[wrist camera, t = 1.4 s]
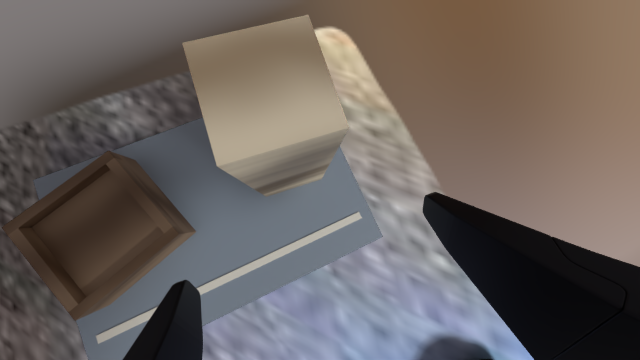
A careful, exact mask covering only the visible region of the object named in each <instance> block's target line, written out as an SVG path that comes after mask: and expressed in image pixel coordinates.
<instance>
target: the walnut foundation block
mask: <svg viewBox="0 0 640 360" xmlns="http://www.w3.org/2000/svg"><path fill="white" fill-rule="evenodd" d="M2 229H3V230H4V231H5V232H6V234H7V235H8V236H9V238H10V239H11V240H12V241H13V243H14V244H15V245H16V246H17V248H18V249H19V250H20V252H21V253H22V254H23V255H24V257H25V258H26V259H27V261H28V262H29V263H30V264H31V266H32V267H33V268H34V269H35V271H36V272H37V273H38V275H39V276H40V277H41V278H42V280H43V281H44V282H45V283H46V285H47V286H48V287H49V289H50V290H51V291H52V292H53V294H54V295H55V296H56V297H57V299H58V300H59V301H60V303H61V304H62V305H63V306H64V308H65V309H66V310H67V311H68V313H69V314H70V315H71V317H72V318H73V319H74V320H75V321H76V320H78V319H80V318H82V317H84V316H87V315H89V314H91V313H93V312H95V311H98V310H100V309H102V308H104V307H106V306H109V305H110V304H112V303H113V302H114V301H115V300H116V299H117V298H119V297H120V296H121V295H122V294H123V293H125V292H126V291H127V290H128V289H129V288H130V287H132V286H133V285H134V284H135V283H136V282H138V281H139V280H140V279H141V278H142V277H143V276H145V275H146V274H147V273H148V272H149V271H151V270H152V269H153V268H154V267H155V266H156V265H158V264H159V263H160V262H161V261H162V260H164V259H165V258H166V257H167V256H168V255H169V254H171V253H172V252H173V251H174V250H175V249H177V248H178V247H179V246H180V245H181V244H183V243H184V242H185V241H186V240H187V239H188V238H190V237H191V236H192V235H193V234H194V233H196V231H195V229H194V228H193V227H192V226H191V225H190V224H189V222H188V221H187V220H186V219H185V218H184V217H183V215H182V214H181V213H180V212H179V211H178V209H177V208H176V207H175V206H174V205H173V204H172V202H171V201H170V200H169V199H168V198H167V197H166V195H165V194H164V193H163V192H162V191H161V190H160V188H159V187H158V186H157V185H156V184H155V183H154V181H153V180H152V179H151V178H150V177H149V176H148V174H147V173H146V172H145V171H144V170H143V169H142V167H141V166H140V165H139V164H138V163H137V161H136V160H134V159H131V158H128V157H125V156H122V155H119V154H117V153H114V152H111V151H107V152H106V153H104V154H103V155H101V156H100V157H99V158H97V159H96V160H95V161H93V162H92V163H90V164H89V165H88V166H86V167H85V168H83V169H82V170H81V171H79V172H78V173H76V174H75V175H74V176H72V177H71V178H70V179H68V180H67V181H65V182H64V183H63V184H61V185H60V186H58V187H57V188H56V189H54V190H53V191H52V192H50V193H49V194H47V195H46V196H45V197H43V198H42V199H40V200H39V201H38V202H36V203H35V204H33V205H32V206H31V207H29V208H28V209H27V210H25V211H24V212H22V213H21V214H20V215H18V216H17V217H15V218H14V219H13V220H11V221H10V222H8V223H7V224H6V225H4V226H3V227H2Z"/></svg>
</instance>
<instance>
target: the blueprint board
mask: <svg viewBox="0 0 640 360" xmlns="http://www.w3.org/2000/svg"><path fill="white" fill-rule="evenodd" d="M111 152H114V153H117V154H119V155H122V156H125V157H128V158H131V159H134V160H136V161H137V163H138V164H139V165H140V166H141V167H142V169H143V170H144V171H145V172H146V173H147V174H148V176H149V177H150V178H151V179H152V180H153V181H154V183H155V184H156V185H157V186H158V187H159V188H160V190H161V191H162V192H163V193H164V194H165V195H166V197H167V198H168V199H169V200H170V201H171V202H172V204H173V205H174V206H175V207H176V208H177V209H178V211H179V212H180V213H181V214H182V215H183V217H184V218H185V219H186V220H187V221H188V222H189V224H190V225H191V226H192V227H193V228H194V229H195V231H196V233H194V234H193V235H192V236H191V237H190V238H188V239H187V240H186V241H185V242H184V243H183V244H181V245H180V246H179V247H178V248H177V249H175V250H174V251H173V252H172V253H171V254H169V255H168V256H167V257H166V258H165V259H164V260H162V261H161V262H160V263H159V264H158V265H156V266H155V267H154V268H153V269H152V270H151V271H149V272H148V273H147V274H146V275H145V276H143V277H142V278H141V279H140V280H139V281H138V282H136V283H135V284H134V285H133V286H132V287H130V288H129V289H128V290H127V291H126V292H125V293H123V294H122V295H121V296H120V297H119V298H117V299H116V300H115V301H114V302H113V303H112V304H110V305H109V306H106V307H104V308H102V309H100V310H98V311H95V312H93V313H91V314H89V315H87V316H84V317H82V318H80V319H78V320H76V321H77V325H78V328H79V331H80V334H81V338H82V341H83V344H84V348H85V351H86V354H87V357H88V360H123V358H124V357H125V355H126V354H127V352H128V351H129V349H130V348H131V346H132V345H133V343H134V342H135V340H136V339H137V337H138V336H139V334H140V333H141V331H142V330H143V328H144V327H145V325H146V324H147V322H148V321H149V319H150V318H151V316H152V315H153V313H154V312H155V310H156V309H157V307H158V306H159V304H160V303H161V301H162V300H163V298H164V297H165V295H166V294H167V292H168V291H169V289H170V288H171V286H172V285H173V284H175V283H177V282H180V281H183V280H188V281H190V282H191V283H192V285H193V286H194V287H195V288H196V289H197V290H198V291H199V292H200V296H201V313H202V326H204V325H206V324H208V323H210V322H212V321H214V320H216V319H218V318H220V317H222V316H224V315H226V314H228V313H230V312H232V311H234V310H236V309H238V308H240V307H242V306H244V305H246V304H248V303H250V302H252V301H254V300H256V299H258V298H260V297H262V296H264V295H267V294H269V293H271V292H273V291H275V290H277V289H279V288H281V287H283V286H285V285H287V284H289V283H291V282H293V281H295V280H297V279H299V278H301V277H303V276H305V275H307V274H309V273H311V272H313V271H315V270H317V269H319V268H321V267H323V266H325V265H327V264H329V263H331V262H333V261H335V260H337V259H339V258H341V257H343V256H345V255H347V254H349V253H351V252H353V251H355V250H357V249H359V248H361V247H363V246H365V245H367V244H369V243H371V242H373V241H375V240H377V239H379V238H381V237H383V236H382V234H381V232H380V229H379V227H378V225H377V223H376V221H375V219H374V217H373V215H372V213H371V211H370V209H369V206H368V204H367V202H366V200H365V198H364V196H363V194H362V192H361V190H360V188H359V185H358V183H357V181H356V179H355V177H354V175H353V173H352V171H351V169H350V167H349V165H348V162H347V160H346V158H345V156H344V154H343V152H342V150H341V148H340V146H339V148H338V150H337V151H336V153H335V155H334V157H333V159H332V161H331V163H330V164H329V166H328V168H327V170H326V172H325V174H324V176H323V177H322V179H320V180H317V181H314V182H311V183H308V184H305V185H302V186H298V187H295V188H292V189H289V190H286V191H283V192H280V193H277V194H273V195H270V196H267V197H266V196H264V195H263V194H261V193H259V192H258V191H256V190H254V189H253V188H251V187H250V186H248V185H246V184H245V183H243V182H241V181H240V180H238V179H237V178H235V177H233V176H232V175H230V174H228V173H227V172H225V171H224V170H222V169H220V168H219V167H217V165H216V161H215V158H214V154H213V151H212V147H211V143H210V140H209V136H208V133H207V129H206V126H205V122H204V119H203V117H202V118H200V119H197V120H194V121H191V122H189V123H186V124H183V125H181V126H178V127H175V128H173V129H170V130H167V131H164V132H162V133H159V134H156V135H154V136H151V137H148V138H146V139H143V140H140V141H137V142H135V143H132V144H129V145H127V146H124V147H121V148H119V149H116V150H113V151H111ZM102 155H103V154H102ZM100 156H101V155H100ZM100 156H97V157H94V158H92V159H89V160H86V161H83V162H81V163H78V164H75V165H73V166H70V167H67V168H65V169H62V170H59V171H56V172H54V173H51V174H48V175H46V176H43V177H40V178H38V179H35V180H33V181H34V185H35V188H36V191H37V194H38V198H39V200H40V199H42V198H43V197H45V196H46V195H47V194H49V193H50V192H52V191H53V190H54V189H56V188H57V187H58V186H60V185H61V184H63V183H64V182H65V181H67V180H68V179H70V178H71V177H72V176H74V175H75V174H76V173H78V172H79V171H81V170H82V169H83V168H85V167H86V166H88V165H89V164H90V163H92V162H93V161H95V160H96V159H97V158H99V157H100Z"/></svg>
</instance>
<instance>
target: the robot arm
mask: <svg viewBox="0 0 640 360" xmlns="http://www.w3.org/2000/svg"><path fill="white" fill-rule="evenodd" d="M423 214H424V216H425V218H426V219H427V221H428V222H429V224H430V225H431V227H432V228H433V230H434V231H435V233H436V235H437V236H438V238H439V239H440V241H441V242H442V244H443V245H444V247H445V248H446V250H447V251H448V252H449V254H450V255H451V256H452V257H453V259H454V260H455V261H456V262H457V264H458V265H459V266H460V267H461V269H462V270H463V271H464V272H465V274H466V275H467V276H468V277H469V279H470V280H471V281H472V282H473V284H474V285H475V286H476V287H477V288H478V290H479V291H480V292H481V293H482V295H483V296H484V297H485V298H486V300H487V301H488V302H489V303H490V305H491V306H492V307H493V308H494V310H495V311H496V312H497V313H498V315H499V316H500V317H501V318H502V320H503V321H504V322H505V323H506V325H507V326H508V327H509V328H510V330H511V331H512V332H513V333H514V335H515V336H516V337H517V338H518V340H519V341H520V342H521V343H522V345H523V346H524V347H525V348H526V350H527V351H528V352H529V353H530V355H531V356H532V357H533V358H534V360H640V267H638V266H635V265H632V264H629V263H626V262H622V261H619V260H616V259H613V258H610V257H607V256H605V255H602V254H599V253H595V252H593V251H590V250H587V249H584V248H581V247H579V246H576V245H574V244H571V243H568V242H565V241H563V240H560V239H558V238H555V237H551V236H549V235H547V234H544V233H542V232H539V231H536V230H534V229H531V228H529V227H526V226H523V225H521V224H518V223H516V222H513V221H510V220H508V219H505V218H502V217H500V216H497V215H495V214H492V213H489V212H487V211H484V210H482V209H479V208H476V207H474V206H471V205H468V204H466V203H463V202H461V201H458V200H456V199H453V198H450V197H448V196H445V195H442V194H440V193H437V192H433V193H430V194H428V195H426V196H425V197H424V204H423ZM202 353H203V331H202V313H201V296H200V292H199V291H198V290H197V289H196V288H195V287H194V286H193V285H192V283H191V282H190V281H188V280H183V281H180V282H177V283H175V284H173V285H172V286H171V288H170V289H169V291H168V292H167V294H166V295H165V297H164V298H163V300H162V301H161V303H160V304H159V306H158V307H157V309H156V310H155V312H154V313H153V315H152V316H151V318H150V319H149V321H148V322H147V324H146V325H145V327H144V328H143V330H142V331H141V333H140V334H139V336H138V337H137V339H136V340H135V342H134V343H133V345H132V346H131V348H130V349H129V351H128V352H127V354H126V355H125V357H124V358H123V360H202Z"/></svg>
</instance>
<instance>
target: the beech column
mask: <svg viewBox="0 0 640 360" xmlns="http://www.w3.org/2000/svg"><path fill="white" fill-rule="evenodd" d="M182 44H183V47H184V51H185V54H186V58H187V62H188V65H189V69H190V72H191V76H192V79H193V83H194V87H195V90H196V94H197V97H198V101H199V104H200V108H201V111H202V115H203V119H204V122H205V126H206V129H207V133H208V136H209V140H210V143H211V147H212V151H213V154H214V158H215V161H216V165H217V167H219V168H220V169H222V170H224V171H225V172H227V173H228V174H230V175H232V176H233V177H235V178H237V179H238V180H240V181H241V182H243V183H245V184H246V185H248V186H250V187H251V188H253V189H254V190H256V191H258V192H259V193H261V194H263V195H264V196H266V197H267V196H270V195H273V194H277V193H280V192H283V191H286V190H289V189H292V188H295V187H298V186H302V185H305V184H308V183H311V182H314V181H317V180H320V179H322V177H323V176H324V174H325V172H326V170H327V168H328V166H329V164H330V163H331V161H332V159H333V157H334V155H335V153H336V151H337V150H338V148H339V146H340V144H341V142H342V140H343V138H344V136H345V135H346V133H347V131H348V129H349V125H348V122H347V120H346V117H345V114H344V111H343V109H342V106H341V103H340V100H339V98H338V95H337V92H336V90H335V87H334V84H333V81H332V79H331V76H330V73H329V70H328V68H327V65H326V62H325V59H324V57H323V54H322V51H321V48H320V46H319V43H318V40H317V37H316V35H315V32H314V29H313V26H312V24H311V21H310V18H309V16H308V15H305V16H300V17H296V18H292V19H287V20H283V21H278V22H274V23H269V24H265V25H261V26H256V27H251V28H247V29H243V30H238V31H233V32H229V33H225V34H220V35H216V36H211V37H207V38H202V39H198V40H193V41H189V42H184V43H182Z"/></svg>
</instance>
